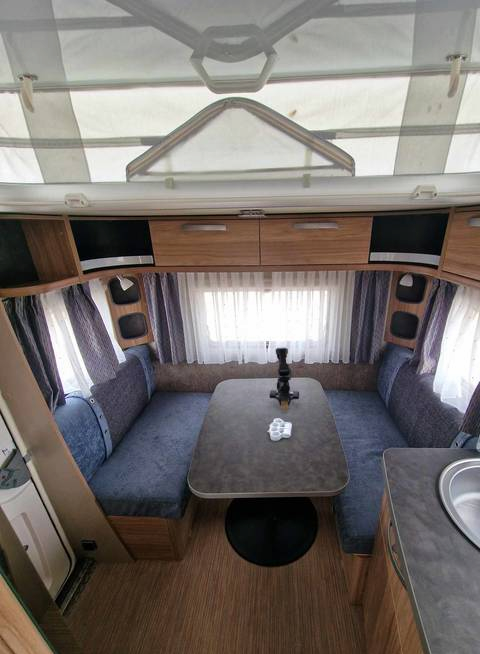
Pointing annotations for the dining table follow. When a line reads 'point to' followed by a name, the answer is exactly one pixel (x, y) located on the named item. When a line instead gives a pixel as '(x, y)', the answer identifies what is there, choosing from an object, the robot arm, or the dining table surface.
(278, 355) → the robot arm
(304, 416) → the dining table surface
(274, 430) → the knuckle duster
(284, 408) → the spice jar
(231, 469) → the dining table surface
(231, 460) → the dining table surface
